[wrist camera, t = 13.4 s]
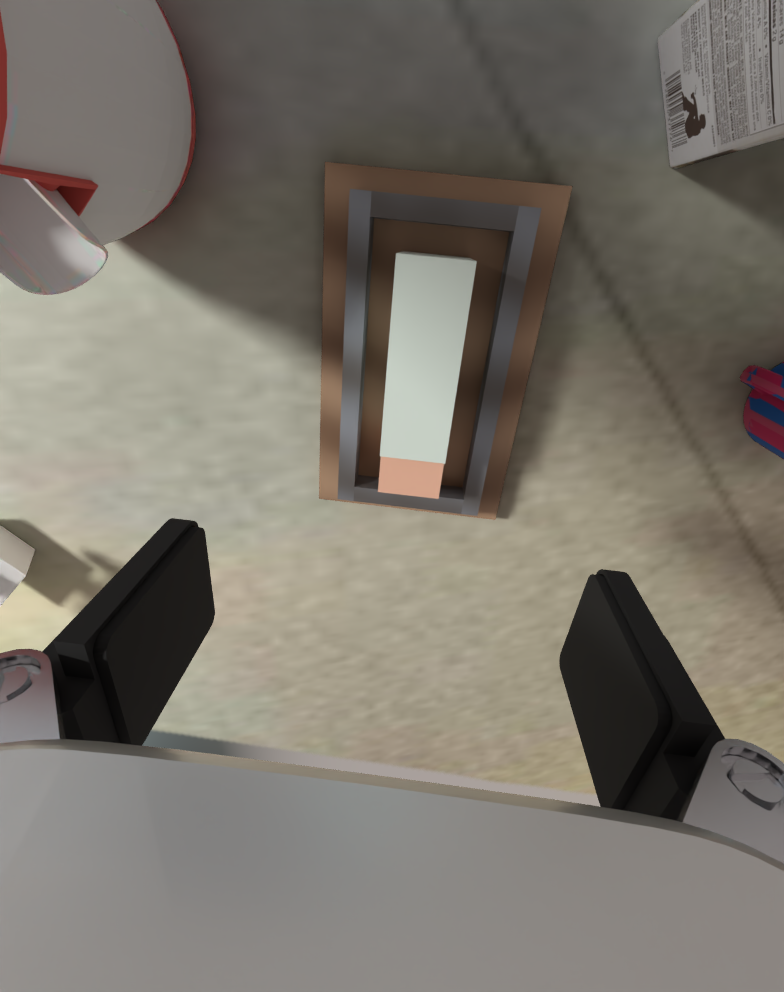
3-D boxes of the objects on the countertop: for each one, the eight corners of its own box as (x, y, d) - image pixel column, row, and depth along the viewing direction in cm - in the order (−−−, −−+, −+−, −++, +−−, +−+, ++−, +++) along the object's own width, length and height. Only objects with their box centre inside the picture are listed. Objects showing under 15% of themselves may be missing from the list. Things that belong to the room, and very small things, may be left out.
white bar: (403, 250, 28) (396, 253, 23) (469, 257, 28) (476, 261, 23) (385, 460, 35) (376, 499, 30) (438, 466, 35) (438, 506, 30)
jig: (329, 164, 28) (317, 156, 25) (567, 188, 27) (582, 182, 24) (322, 491, 38) (313, 511, 35) (493, 512, 38) (498, 533, 35)
